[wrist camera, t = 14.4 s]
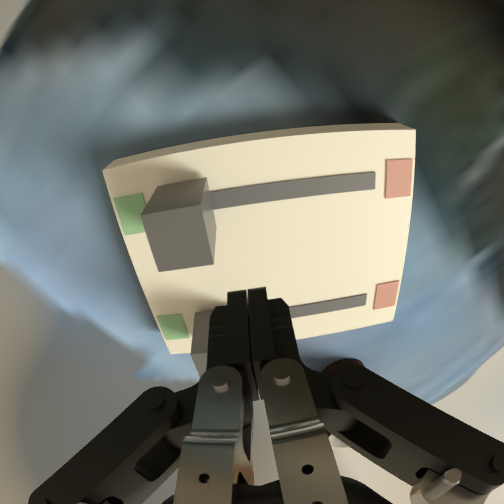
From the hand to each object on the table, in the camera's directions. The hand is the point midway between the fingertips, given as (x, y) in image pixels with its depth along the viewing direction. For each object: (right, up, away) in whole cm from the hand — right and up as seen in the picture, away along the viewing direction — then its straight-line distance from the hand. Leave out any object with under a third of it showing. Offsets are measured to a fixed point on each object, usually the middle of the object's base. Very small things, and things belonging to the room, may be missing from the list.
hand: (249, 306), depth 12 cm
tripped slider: (-5, +5, +10) cm, 12 cm away
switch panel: (+2, +3, +16) cm, 17 cm away
